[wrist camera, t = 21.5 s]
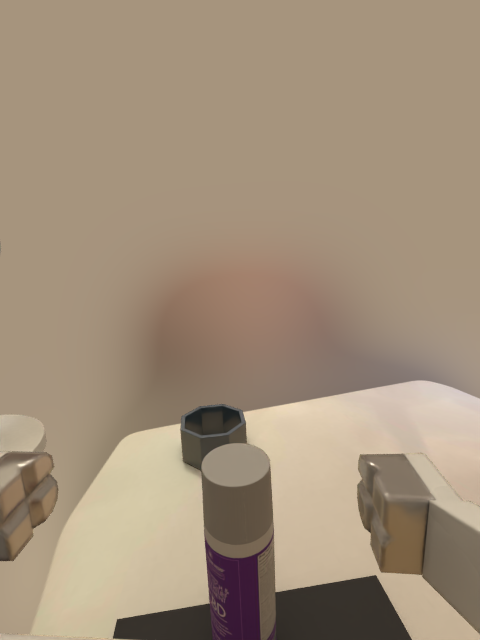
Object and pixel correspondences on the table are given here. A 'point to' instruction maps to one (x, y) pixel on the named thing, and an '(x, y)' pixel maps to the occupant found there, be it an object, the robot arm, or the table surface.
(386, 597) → the mat
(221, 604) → the container
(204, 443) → the octagonal ring
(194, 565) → the table surface
